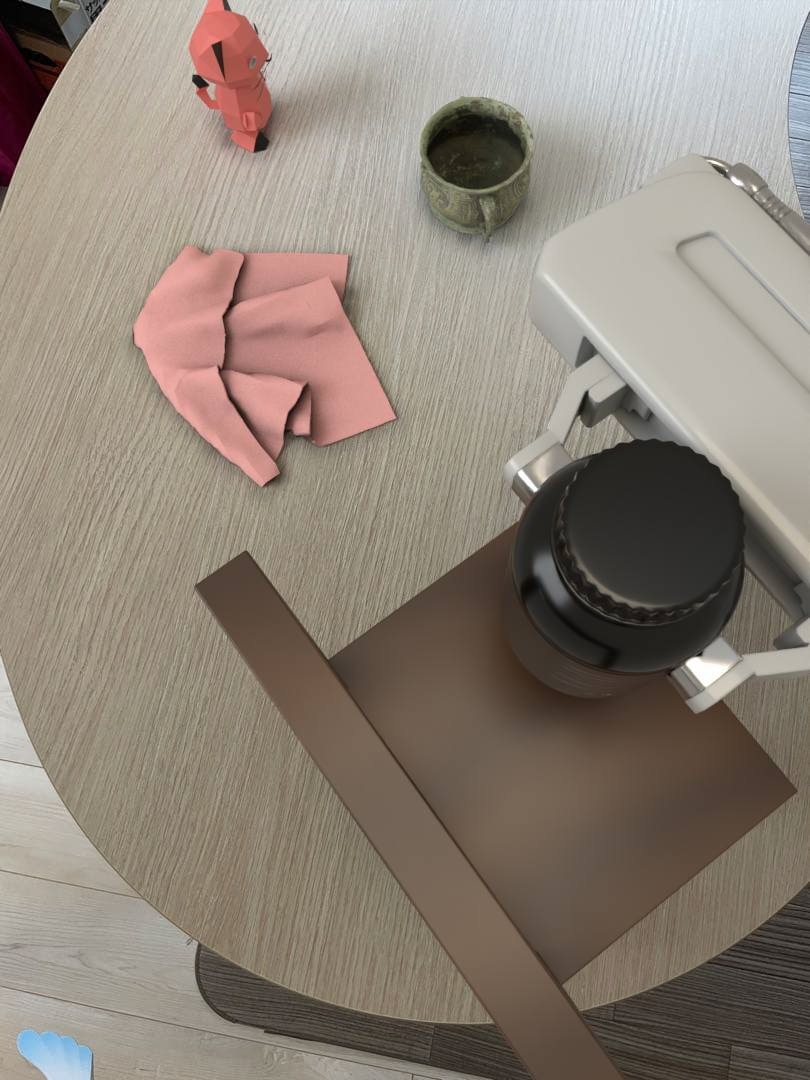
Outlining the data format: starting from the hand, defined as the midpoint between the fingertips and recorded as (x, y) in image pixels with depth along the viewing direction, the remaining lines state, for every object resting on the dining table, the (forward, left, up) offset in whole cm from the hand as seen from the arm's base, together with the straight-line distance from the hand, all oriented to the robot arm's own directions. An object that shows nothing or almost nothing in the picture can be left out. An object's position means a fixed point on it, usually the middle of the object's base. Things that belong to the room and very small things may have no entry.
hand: (597, 588), depth 29 cm
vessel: (+34, -23, -38) cm, 56 cm away
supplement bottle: (0, -1, -7) cm, 7 cm away
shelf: (-3, +3, -38) cm, 38 cm away
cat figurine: (+51, -12, -38) cm, 65 cm away
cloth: (+32, -1, -38) cm, 50 cm away
